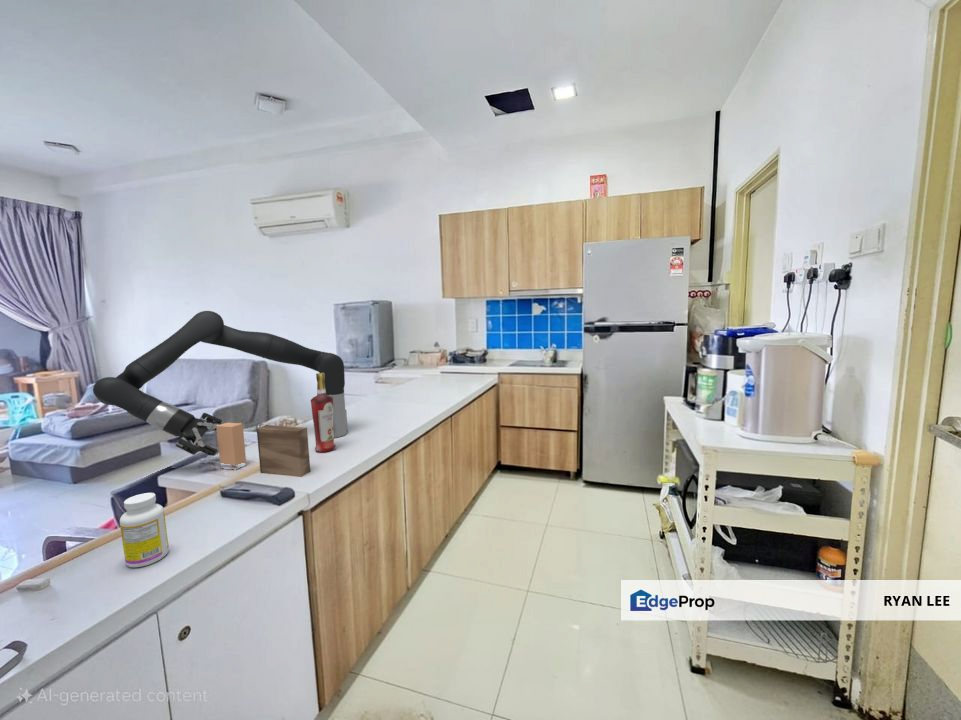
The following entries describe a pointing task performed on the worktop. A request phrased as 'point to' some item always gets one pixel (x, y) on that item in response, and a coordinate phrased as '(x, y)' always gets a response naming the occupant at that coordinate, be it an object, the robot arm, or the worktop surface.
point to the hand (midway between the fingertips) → (223, 443)
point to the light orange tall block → (231, 443)
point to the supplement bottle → (143, 530)
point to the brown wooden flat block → (283, 450)
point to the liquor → (323, 417)
